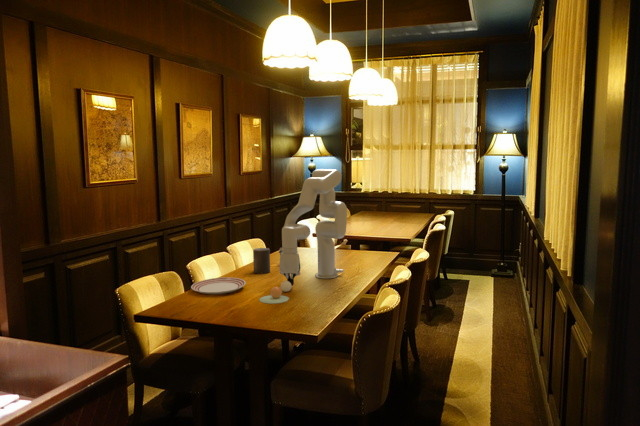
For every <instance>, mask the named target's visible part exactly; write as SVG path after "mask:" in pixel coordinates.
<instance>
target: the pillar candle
mask: <svg viewBox="0 0 640 426" xmlns="http://www.w3.org/2000/svg"><path fill="white" fill-rule="evenodd" d="M252 252H253V256H252V257H253V263H252V265H253V273H254V274H258V275H264V274H269V273H270V272H271V256H270V255H271V254H270V253H271V251H270V248H269V247H267V248H266V247H258V248H253V249H252Z"/></svg>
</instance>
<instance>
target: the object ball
mask: <svg viewBox="0 0 640 426" xmlns="http://www.w3.org/2000/svg"><path fill="white" fill-rule="evenodd" d="M269 293H270V295H271V296H272V297H273V298H279V297H280V296H281V295H283V294H282V293H283V290H282V289H281V287H278V286H273V287H272V288H270V291H269Z"/></svg>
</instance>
